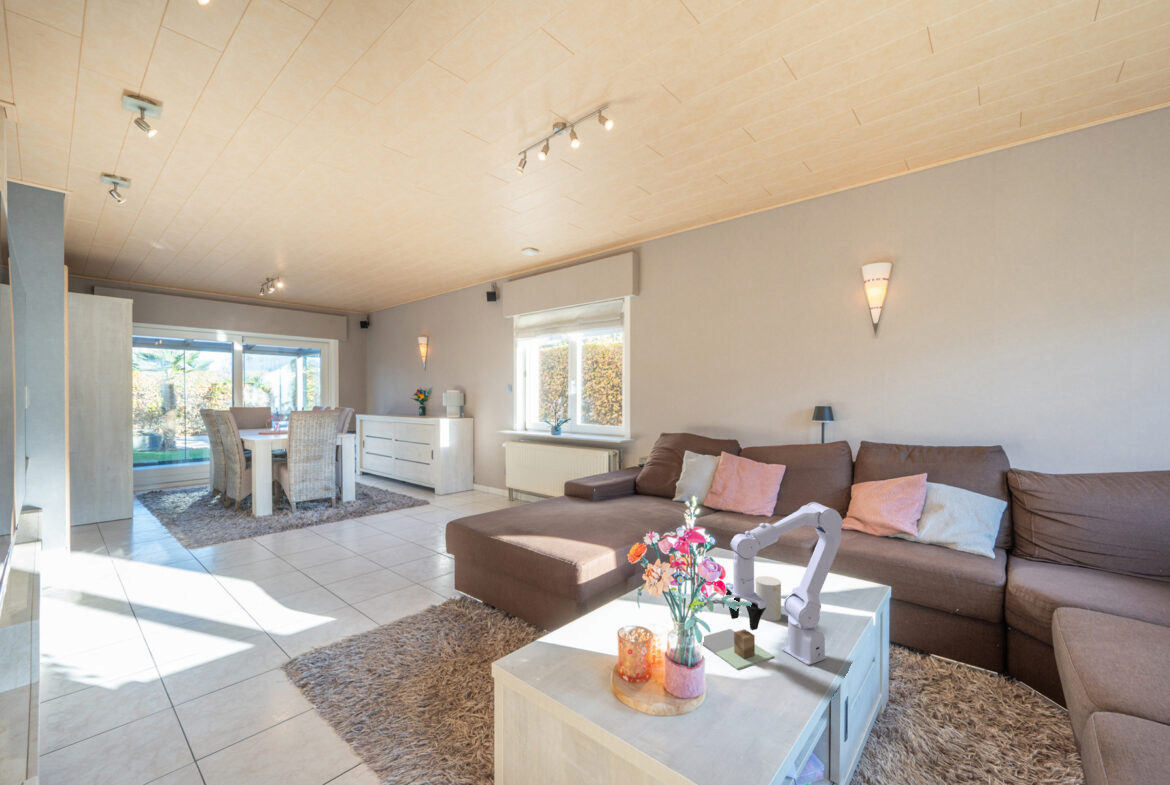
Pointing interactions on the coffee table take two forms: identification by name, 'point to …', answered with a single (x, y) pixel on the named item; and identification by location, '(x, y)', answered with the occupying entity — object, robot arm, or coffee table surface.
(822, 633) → the robot arm
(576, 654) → the coffee table surface
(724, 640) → the board
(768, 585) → the beige cylinder
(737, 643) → the block
